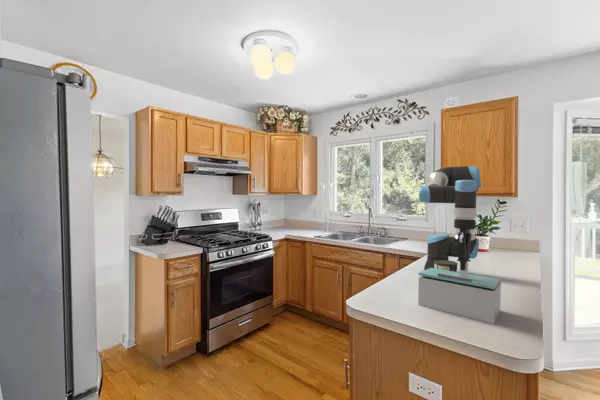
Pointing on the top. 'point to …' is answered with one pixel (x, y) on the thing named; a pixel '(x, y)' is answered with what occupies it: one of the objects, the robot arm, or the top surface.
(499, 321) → the top surface
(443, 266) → the coffee can
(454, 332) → the top surface
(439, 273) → the cover
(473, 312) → the gray storage box
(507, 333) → the top surface
